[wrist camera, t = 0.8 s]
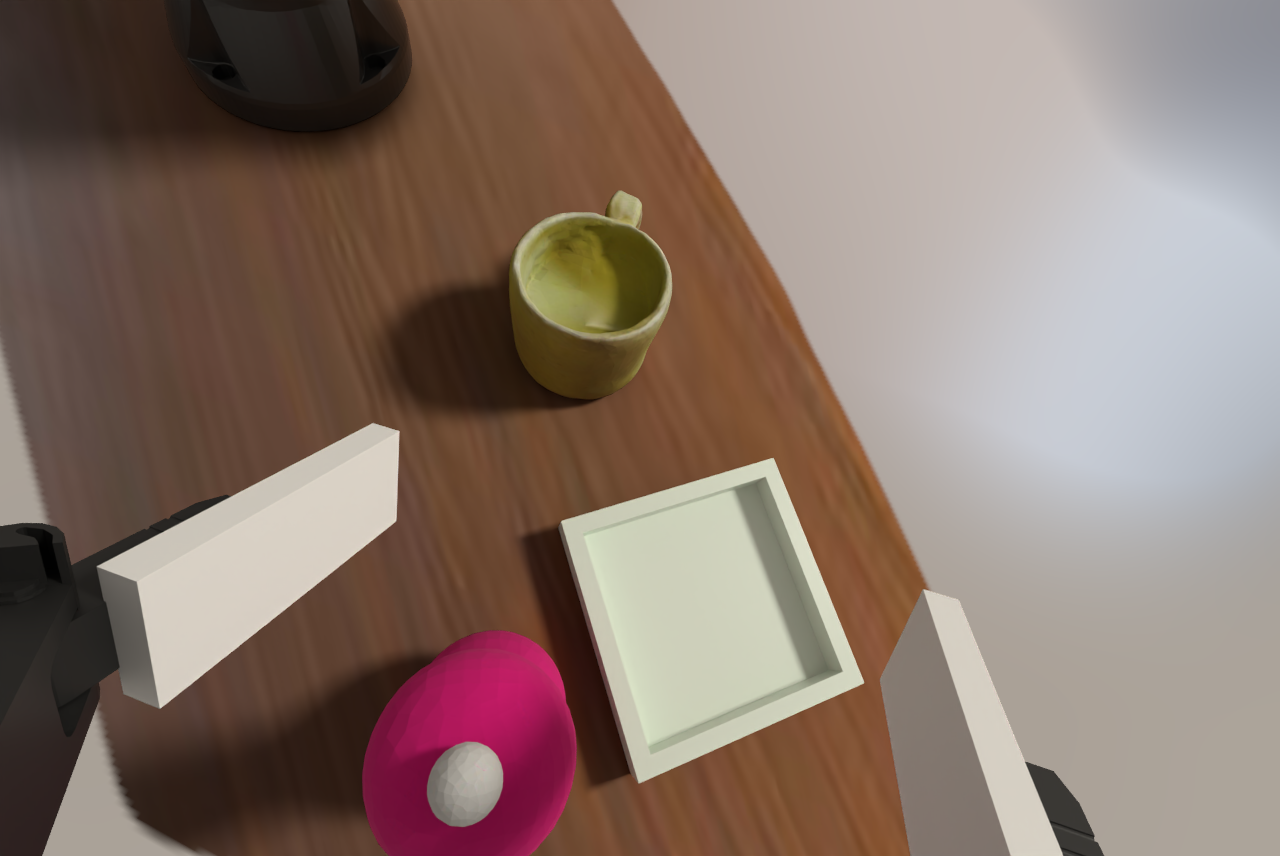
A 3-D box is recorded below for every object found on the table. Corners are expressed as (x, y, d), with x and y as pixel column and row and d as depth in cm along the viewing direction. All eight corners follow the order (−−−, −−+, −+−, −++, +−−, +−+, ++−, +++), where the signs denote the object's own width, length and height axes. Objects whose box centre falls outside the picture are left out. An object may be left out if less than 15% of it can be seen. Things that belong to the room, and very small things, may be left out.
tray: (558, 528, 36) (560, 521, 34) (759, 467, 40) (773, 457, 38) (630, 773, 32) (638, 783, 30) (843, 680, 36) (864, 683, 34)
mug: (624, 449, 36) (622, 327, 28) (488, 390, 39) (452, 263, 31) (705, 329, 43) (722, 204, 35) (584, 286, 46) (574, 161, 38)
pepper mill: (423, 789, 30) (276, 1036, 12) (421, 639, 32) (297, 646, 14) (565, 763, 32) (635, 944, 13) (554, 623, 34) (602, 608, 15)
